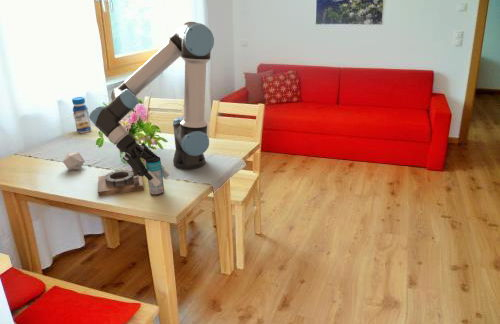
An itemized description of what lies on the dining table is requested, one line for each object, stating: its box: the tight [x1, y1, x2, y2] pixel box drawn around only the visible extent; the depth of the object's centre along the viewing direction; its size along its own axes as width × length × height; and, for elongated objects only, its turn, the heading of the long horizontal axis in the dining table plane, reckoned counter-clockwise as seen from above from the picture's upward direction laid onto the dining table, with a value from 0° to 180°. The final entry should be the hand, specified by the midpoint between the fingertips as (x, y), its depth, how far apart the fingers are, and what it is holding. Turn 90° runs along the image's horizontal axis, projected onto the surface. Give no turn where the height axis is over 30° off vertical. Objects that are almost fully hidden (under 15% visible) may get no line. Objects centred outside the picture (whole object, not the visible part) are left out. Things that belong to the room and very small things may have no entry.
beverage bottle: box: [71, 96, 92, 134], centre depth 245 cm, size 8×8×20 cm
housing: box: [97, 167, 144, 197], centre depth 177 cm, size 18×16×5 cm
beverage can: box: [144, 155, 165, 196], centre depth 167 cm, size 6×6×15 cm
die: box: [62, 152, 86, 171], centre depth 194 cm, size 8×9×10 cm
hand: (163, 180), depth 167 cm, fingers open, 7 cm apart
